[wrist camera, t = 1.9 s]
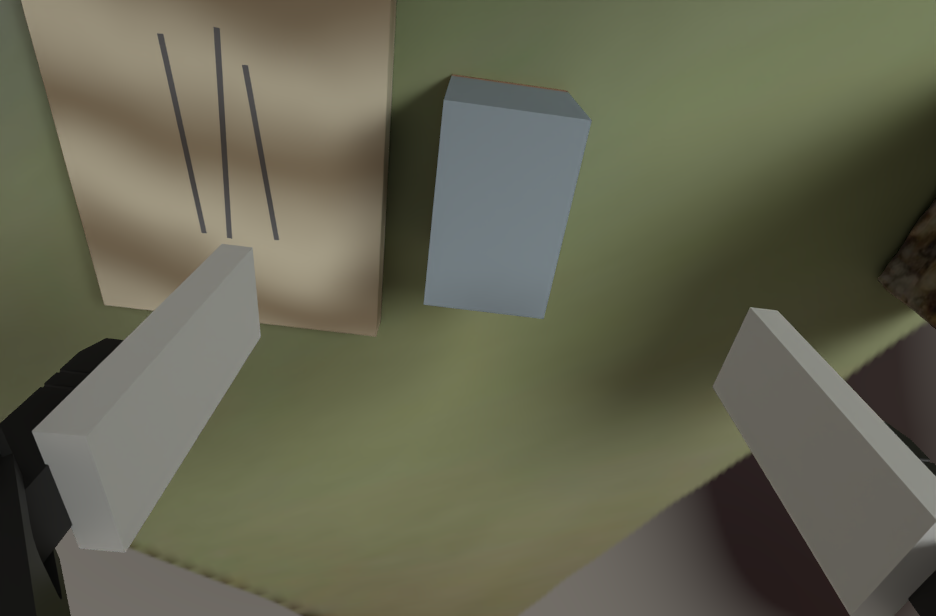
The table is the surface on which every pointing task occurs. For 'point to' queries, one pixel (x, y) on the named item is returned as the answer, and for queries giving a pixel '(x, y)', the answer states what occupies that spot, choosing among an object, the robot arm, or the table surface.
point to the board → (228, 145)
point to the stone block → (916, 268)
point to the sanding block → (502, 194)
